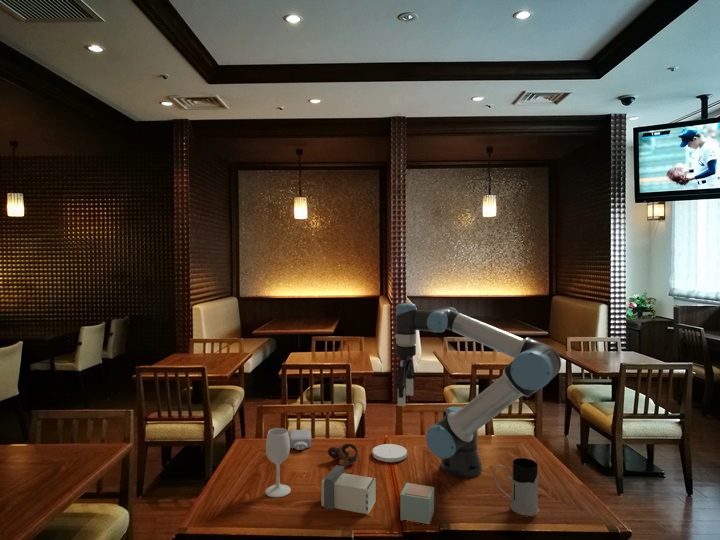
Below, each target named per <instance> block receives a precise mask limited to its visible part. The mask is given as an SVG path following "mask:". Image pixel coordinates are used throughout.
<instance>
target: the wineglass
mask: <svg viewBox="0 0 720 540" xmlns="http://www.w3.org/2000/svg"><path fill="white" fill-rule="evenodd" d="M289 438H290V434H289V432H288V430H287V429H286V428H283V427H274V428H271V429H269V430H268V432H267V435H266V441H265V452H266V453H265V454H266V457H267V459H268V460H269V461H270V462H271V463H273V464H274V465H275V467H276V468H275V469H276V478H275V479H276V481H275V484H273V485H270V486H269V487H267V488H266V489H265V491H264V493H265V495H266V496H267V497H270V498H282V497H285V496H287V495H289V494H290V493H291V491H292V489H291V487H290V486H288V485H286V484H282V483H281V481H280V480H281V479H280V466H281V464H282V463H283V462H285V461H286V460H287V459H288V457H289V454H290V449H291V448H290V441H289Z"/></svg>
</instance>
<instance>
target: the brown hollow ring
mask: <svg viewBox="0 0 720 540" xmlns="http://www.w3.org/2000/svg"><path fill="white" fill-rule="evenodd" d="M347 448H352V450H354V452H355V453H354V455H353V456H352V455H351V456H349V455H350V452H348V451H346V450H347ZM327 453H328V456H329V457H331V459H333V461H336V460H338V459H339V458H340V459H341V460H342V461H343V463H342V466H344V468H347V467H348V466H349V465H352V464H353V463H355V462H356V461H357V460H358V456H359V452H358V448H357V447H356V446H355V444H352V443H348V442H346V443H343V444H341V445H339V446H338V447H335V446H331V447H329V448H328V449H327Z"/></svg>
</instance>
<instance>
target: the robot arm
mask: <svg viewBox="0 0 720 540" xmlns="http://www.w3.org/2000/svg"><path fill="white" fill-rule="evenodd" d="M446 330H449V331H451V332H454V333H456V334H458V335H460V336H463V337H464V338H467V339H470V340H471V341H474V342H476V343H479V344H481V345H483V346H486V347H487V348H489V349H493V350H494V351H497V352H499V353H501V354H504V355H506V356H508V357H511V358H512V359H513V360H512V361H510V362H509V363H508V364H507V365H506V366H504V368H503V374H502V375H501V376H499V378H497V379H496V380H495V381H493V382H492V383H491V384H490V385H489V386H488V387H486V388H485V389H484V390H483V391H481V392H480V393H478V395H476V396H475V397H474V398H472V400H470V401H469V402H468V403H466V405H464V406H449V407H447V408H446V411H445V415H444V416H443V418H441V419H440V420H439V421H437V422H436V423H434V424H433V425H431V426H430V427H429V428H428V429H427V431H426V433H425V443H426V445H427V448H428V450H430V452H431V453H432V455H433V456H436V457H437V458H440V459H441V460H440V461H441V462H440V466H441V470H442V471H443V472H444V473H447V474H448V475H450V476H453V477H457V478H458V477H459V478H473V477H477V476H479V475H480V474H481V473H482V468H483V467H482V461H481V457H480V455H479V452H478V430H479V429H481V428H482V427H484V426H485V425H486V424H487V423H488V422H490V421H492V419H494V418H495V417H496V416H498V415H499V414H500V413H502V412H503V411H504V410H505V409H507V408H509V406H510V405H512V404H513V403H515V402H516V401H517V400H518V399H520V398H521V397H522V396H523V397H531V396H533V394H535V393H537V392H538V391H539V390H540V389H542V388H544V387H546V386H547V385H548V384H549V383H550V382H551V381H552V380H553V379H554V378H555V377H557V375H558V374H559V372H560V371H561V367H562V359H561V356H560V354H559V353H558V352H557V350H556V349H555V348H554V347H552V346H550V345H549V344H546V343H543V342H540V341H538V340H535V339H533V338H531V337H526V338H522V337H520V336H518V335H515V334H513V333H510V332H507V331H505V330H503V329H500V328H497V327H495V326H493V325H490V324H489V323H485V322H482V321H481V320H478V319H475V318H473V317H471V316H468V315H465V314H463V313H462V312H459V311H457V309H456V308H455V307H452V306H444V307H440V308H436V309H435V308H434V309H431V310H422V309H417V306H416V304H415V303H411V302H410V303H407V302H405V303H404V302H403V303H398V304H397V305H396V309H395V335H394V338H395V343H396V345H395V356H396V355H397V356H399V357H400V360H398V362H397V363H398V364H397V373H396V374H397V375H396V383H395V386H394V387H395V389H397V407H405V406H406V396H411V397H413V396H414V379H416V375H415V366H414V358H413V357H414V356H416V353H417V350H416V349H417V345H416V343H417V331H422V332H431V333H444V332H445V331H446Z"/></svg>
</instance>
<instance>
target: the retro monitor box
mask: <svg viewBox="0 0 720 540" xmlns="http://www.w3.org/2000/svg"><path fill="white" fill-rule="evenodd" d="M399 496H400V501H399V503H400V507H399V508H400V509H399V511H400V515H399V516H400V520H399V521H403V520H405V519H408V520H412V521H416V522H421V523H426V524H430V525H431V522H432V518H433V516H434V513H435V486H429V485H424V484H417V483H413V482H412V483H411V482H405V484H404V487H403V488H402V490H401V492H400V494H399ZM430 521H431V522H430Z"/></svg>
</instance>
